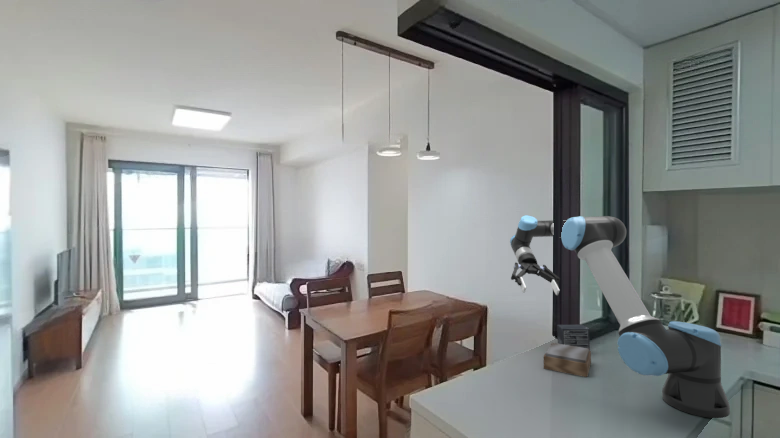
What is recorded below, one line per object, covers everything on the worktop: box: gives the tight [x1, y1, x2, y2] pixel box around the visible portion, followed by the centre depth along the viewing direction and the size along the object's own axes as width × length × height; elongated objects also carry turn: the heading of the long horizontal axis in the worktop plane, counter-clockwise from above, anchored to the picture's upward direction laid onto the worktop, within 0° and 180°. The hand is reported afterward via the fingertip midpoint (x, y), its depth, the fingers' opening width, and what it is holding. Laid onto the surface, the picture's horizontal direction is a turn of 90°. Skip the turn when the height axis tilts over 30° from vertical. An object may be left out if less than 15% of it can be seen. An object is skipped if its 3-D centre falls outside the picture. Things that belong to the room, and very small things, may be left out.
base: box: [543, 342, 592, 378], centre depth 135 cm, size 14×14×6 cm
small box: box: [556, 324, 591, 351], centre depth 148 cm, size 11×6×10 cm, turn 84°
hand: (541, 291), depth 147 cm, fingers open, 13 cm apart
